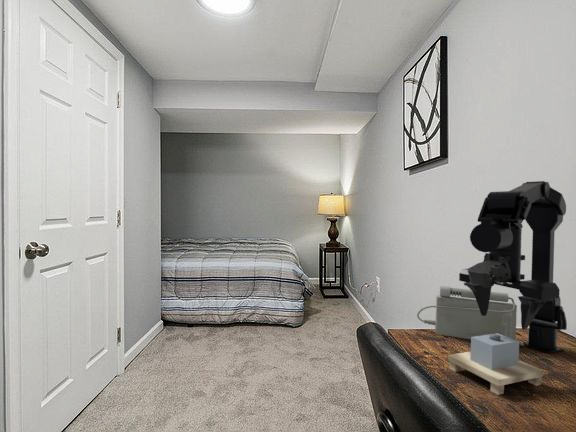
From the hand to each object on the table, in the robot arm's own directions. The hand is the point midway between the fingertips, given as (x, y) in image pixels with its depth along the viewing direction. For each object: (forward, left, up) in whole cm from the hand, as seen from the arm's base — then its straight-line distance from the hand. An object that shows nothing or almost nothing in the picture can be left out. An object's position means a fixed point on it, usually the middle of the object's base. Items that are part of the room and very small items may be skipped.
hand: (502, 321), depth 73 cm
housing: (+2, 0, -9) cm, 9 cm away
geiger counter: (-12, -20, -12) cm, 26 cm away
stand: (+2, 0, -12) cm, 12 cm away
